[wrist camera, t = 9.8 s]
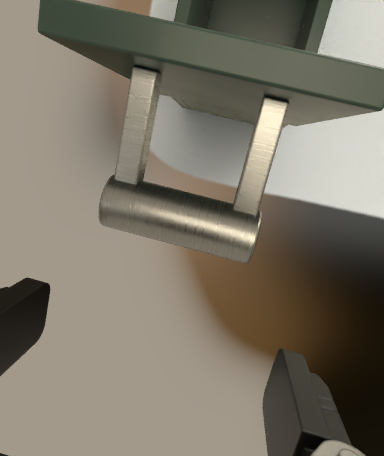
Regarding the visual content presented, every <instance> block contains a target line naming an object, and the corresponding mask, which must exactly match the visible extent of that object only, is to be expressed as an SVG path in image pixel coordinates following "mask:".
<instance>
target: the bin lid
mask: <svg viewBox="0 0 384 456" xmlns="http://www.w3.org/2000/svg"><path fill="white" fill-rule="evenodd" d="M38 32H39V33H40V34H42V35H44V36H46V37H48V38H50V39H52V40H54V41H56V42H58V43H60V44H62V45H64V46H65V47H68V48H69V49H71V50H74V51H75V52H77V53H79V54H81V55H83V56H85V57H87V58H89V59H91V60H93V61H95V62H97V63H99V64H101V65H103V66H105V67H107V68H109V69H111V70H113V71H115V72H116V73H118V74H120V75H122V76H124V77H126V78H128V79H130V87H129V92H128V99H127V105H126V111H125V117H124V123H123V129H122V135H121V141H120V147H119V153H118V160H117V165H116V172H115V175H112V176H111V177H110V178H109V180H108V181H107V183H106V185H105V187H104V189H103V192H102V195H101V199H100V204H99V220H100V223H101V224H102V225H103V226H106V227H110V228H114V229H118V230H121V231H125V232H129V233H133V234H136V235H140V236H144V237H148V238H152V239H155V240H159V241H163V242H167V243H170V244H174V245H178V246H182V247H185V248H189V249H193V250H197V251H200V252H204V253H208V254H212V255H216V256H219V257H223V258H227V259H231V260H234V261H238V262H242V263H248V262H249V261H250V259H251V257H252V254H253V252H254V249H255V245H256V242H257V239H258V235H259V230H260V225H261V218H262V213H261V211H259V206H260V203H261V199H262V196H263V193H264V189H265V186H266V182H267V179H268V175H269V172H270V169H271V165H272V162H273V158H274V155H275V152H276V148H277V145H278V141H279V138H280V134H281V131H282V128H283V124H284V123H285V124H289V125H293V126H299V125H304V124H310V123H315V122H321V121H326V120H332V119H338V118H343V117H349V116H354V115H360V114H365V113H371V112H376V111H382V109H383V108H384V68H382V67H377V66H373V65H368V64H364V63H359V62H354V61H350V60H345V59H341V58H336V57H332V56H327V55H323V54H318V53H313V52H309V51H304V50H300V49H295V48H291V47H286V46H281V45H277V44H272V43H268V42H263V41H259V40H254V39H250V38H245V37H240V36H236V35H231V34H227V33H222V32H218V31H213V30H209V29H204V28H199V27H195V26H190V25H186V24H181V23H177V22H172V21H168V20H163V19H158V18H154V17H149V16H144V15H140V14H136V13H131V12H126V11H122V10H117V9H112V8H108V7H103V6H99V5H95V4H90V3H85V2H80V1H76V0H40V10H39V21H38ZM159 94H161V95H166V96H170V97H174V98H178V99H183V100H187V101H191V102H195V103H200V104H204V105H208V106H212V107H217V108H221V109H225V110H229V111H234V112H238V113H242V114H246V115H251V116H255V117H257V118H256V122H255V125H254V129H253V133H252V136H251V140H250V144H249V148H248V151H247V155H246V159H245V162H244V166H243V170H242V174H241V177H240V181H239V185H238V188H237V192H236V196H235V200H234V203H233V204H232V203H228V202H224V201H220V200H216V199H212V198H208V197H204V196H200V195H196V194H192V193H188V192H184V191H181V190H177V189H172V188H169V187H165V186H161V185H157V184H153V183H149V182H145V181H143V178H144V172H145V167H146V162H147V156H148V151H149V146H150V141H151V135H152V130H153V125H154V120H155V114H156V109H157V104H158V99H159Z"/></svg>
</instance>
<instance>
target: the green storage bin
mask: <svg viewBox="0 0 384 456" xmlns="http://www.w3.org/2000/svg"><path fill="white" fill-rule="evenodd" d="M332 1H333V0H178V5H177V10H176V14H175V19H174V22H177V23H181V24H186V25H190V26H195V27H199V28H204V29H209V30H213V31H218V32H222V33H227V34H231V35H236V36H240V37H245V38H250V39H254V40H259V41H263V42H268V43H272V44H277V45H281V46H286V47H291V48H295V49H300V50H304V51H309V52H313V53H317V52H318V48H319V45H320V42H321V38H322V35H323V31H324V28H325V25H326V21H327V18H328V14H329V11H330V8H331V4H332ZM172 98H173V99H174V100H175V101H176V102H177V103H178V104H179V105H180V106H181V107H183V108H187V109H191V110H196V111H200V112H204V113H208V114H213V115H217V116H221V117H225V118H229V119H234V120H238V121H242V122H246V123H251V124H255V122H256V118H257V117H255V116H251V115H246V114H242V113H238V112H234V111H229V110H225V109H221V108H217V107H212V106H208V105H204V104H200V103H195V102H191V101H187V100H183V99H178V98H174V97H172ZM287 125H289V124H285V123H284V124H283V128H284V127H285V126H287Z"/></svg>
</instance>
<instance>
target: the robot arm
mask: <svg viewBox="0 0 384 456" xmlns="http://www.w3.org/2000/svg"><path fill="white" fill-rule="evenodd" d="M49 294H50V285H49V284H48V283H45V282H42V281H38V280H34V279H31V278H25V279H23V280H21V281H20V282H18V283H16V284H14V285H13V286H11V287H5V288H1V289H0V376H1V375H2V374H3V373H4V372H5V371H6V370H7V369H8V368H10V366H12V365H13V364H14V363H15V362H16V361H17V360H18V359H19V358H20V357H21V356H22V355H23V354H25V353H26V352H27V351H28V350H29V349H30V348H31V347H32V346H33V345H34V344H35V343H36V342H37V341H38V340H39V338H40V336H41V334H42V332H43V329H44V327H45V321H46V314H47V308H48V302H49ZM263 415H264V425H265V434H266V443H267V452H268V456H365V455H364V454H363V453H361V452H360V451H359V450H357V449H356V448H354V447H353V446H352V445H351V443H350V441H349V438H348V436H347V433H346V431H345V428H344V426H343V423H342V421H341V418H340V416H339V413H338V412H337V408H336V406H335V403H334V402H333V398H332V396H331V393H330V391H329V388H328V387H327V386H326V384H325V383H324V382H323V381H322V380H321V379H320V377H319V376H318V375H316V374H313V373H310V372H309V369H308V366H307V363H306V360H305V358H304V356H303V355H302V354H299V353H295V352H292V351H288V350H285V349H279V350H278V353H277V355H276V358H275V361H274V364H273V367H272V370H271V373H270V376H269V379H268V382H267V385H266V388H265V392H264V397H263ZM0 456H8V455H4V454H1V453H0Z"/></svg>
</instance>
